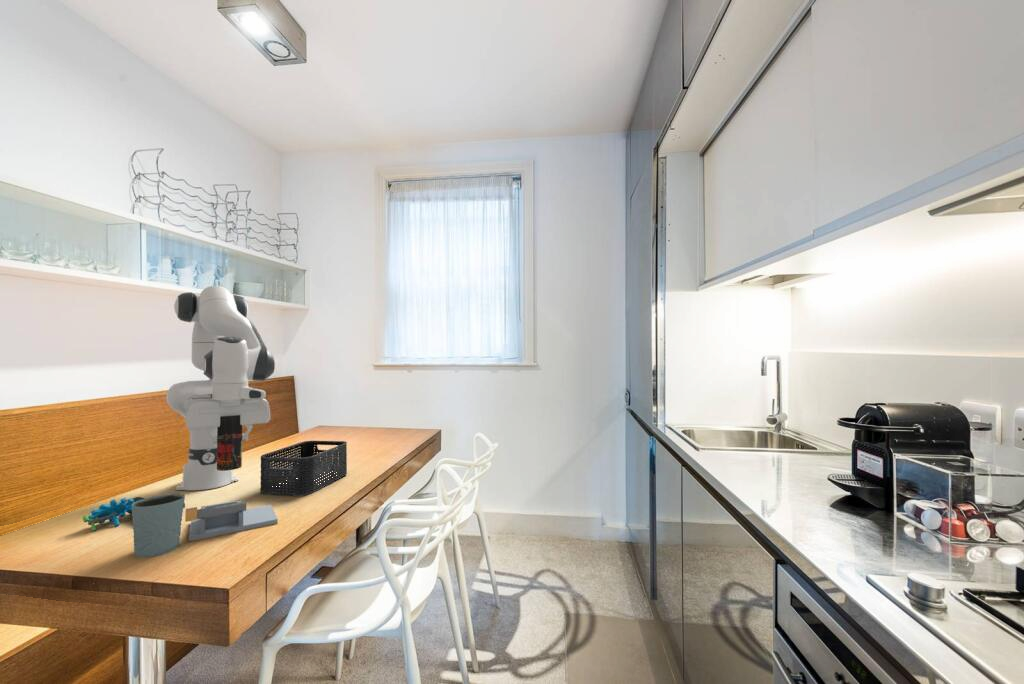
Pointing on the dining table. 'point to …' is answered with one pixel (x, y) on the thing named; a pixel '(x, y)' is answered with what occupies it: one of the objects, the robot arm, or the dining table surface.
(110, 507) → the blue green toy
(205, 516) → the latch bar
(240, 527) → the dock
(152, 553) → the embossed plant pot
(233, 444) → the deodorant
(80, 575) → the dining table surface
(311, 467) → the storage bin
